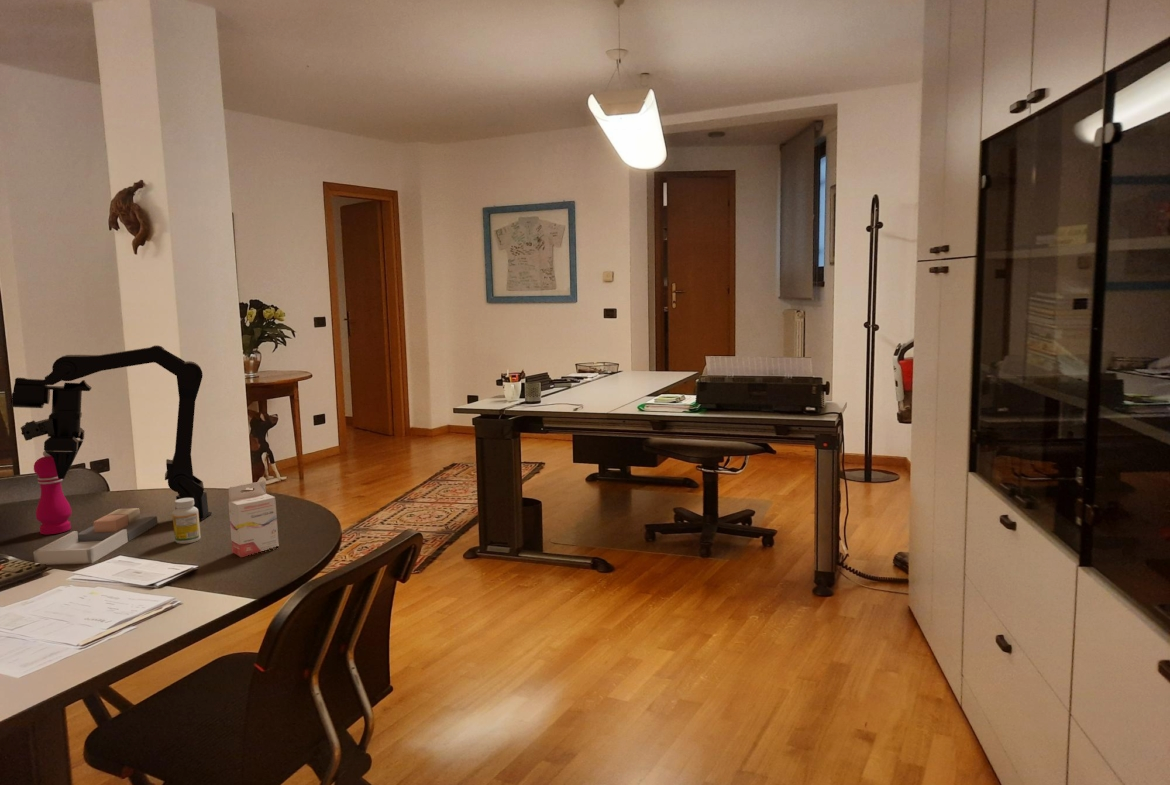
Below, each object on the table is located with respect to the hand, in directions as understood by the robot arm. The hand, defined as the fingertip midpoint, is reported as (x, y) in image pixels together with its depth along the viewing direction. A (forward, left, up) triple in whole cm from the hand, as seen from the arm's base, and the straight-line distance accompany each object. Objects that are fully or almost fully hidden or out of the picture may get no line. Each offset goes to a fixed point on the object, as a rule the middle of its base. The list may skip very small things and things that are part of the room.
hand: (63, 474), depth 187 cm
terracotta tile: (-11, +1, -13) cm, 17 cm away
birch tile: (-11, -4, -13) cm, 17 cm away
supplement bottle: (-31, +6, -15) cm, 35 cm away
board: (-11, -1, -15) cm, 18 cm away
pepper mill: (+6, -5, -15) cm, 17 cm away
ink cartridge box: (-50, +15, -15) cm, 54 cm away
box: (-11, +13, -15) cm, 22 cm away
